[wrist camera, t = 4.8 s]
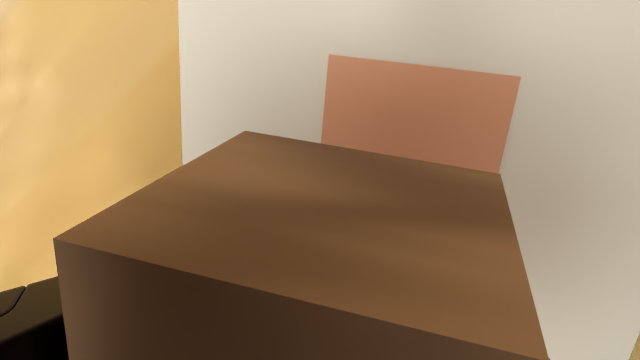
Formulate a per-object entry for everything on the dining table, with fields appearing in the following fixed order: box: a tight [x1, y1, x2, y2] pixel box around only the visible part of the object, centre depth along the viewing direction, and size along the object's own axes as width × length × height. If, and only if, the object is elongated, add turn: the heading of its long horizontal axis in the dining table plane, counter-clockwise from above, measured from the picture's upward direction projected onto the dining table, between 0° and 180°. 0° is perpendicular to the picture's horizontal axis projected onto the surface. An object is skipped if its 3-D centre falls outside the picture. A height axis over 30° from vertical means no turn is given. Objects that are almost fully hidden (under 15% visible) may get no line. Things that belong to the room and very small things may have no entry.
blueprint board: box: [178, 0, 640, 360], centre depth 19 cm, size 20×16×1 cm
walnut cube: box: [53, 131, 549, 360], centre depth 8 cm, size 5×5×5 cm
